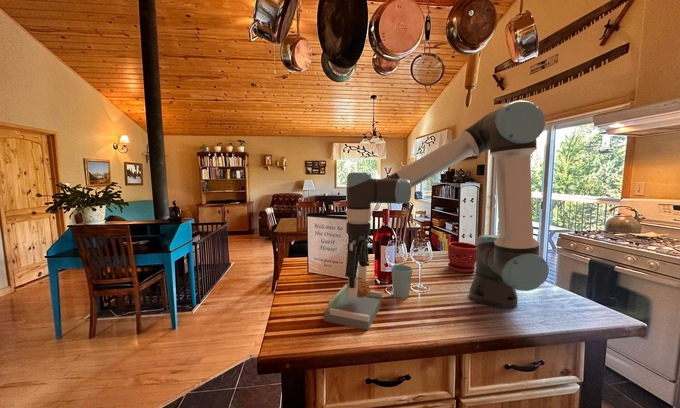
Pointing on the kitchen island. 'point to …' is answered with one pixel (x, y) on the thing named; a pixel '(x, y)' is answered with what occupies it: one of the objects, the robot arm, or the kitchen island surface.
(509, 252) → the robot arm
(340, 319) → the dock
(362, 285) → the pastry
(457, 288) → the kitchen island surface
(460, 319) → the kitchen island surface
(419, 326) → the kitchen island surface
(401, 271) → the cup
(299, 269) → the kitchen island surface
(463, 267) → the plant pot
